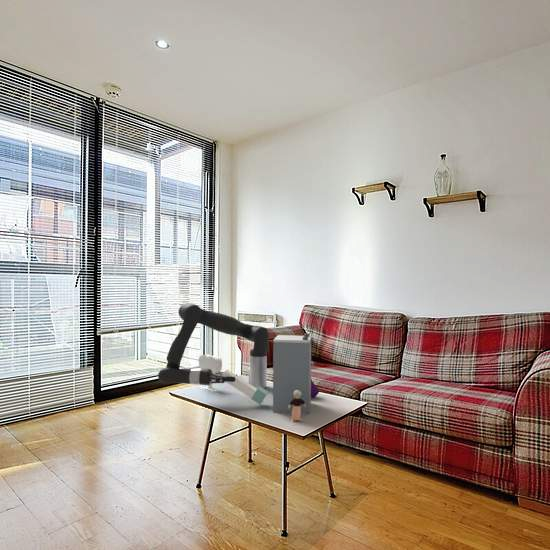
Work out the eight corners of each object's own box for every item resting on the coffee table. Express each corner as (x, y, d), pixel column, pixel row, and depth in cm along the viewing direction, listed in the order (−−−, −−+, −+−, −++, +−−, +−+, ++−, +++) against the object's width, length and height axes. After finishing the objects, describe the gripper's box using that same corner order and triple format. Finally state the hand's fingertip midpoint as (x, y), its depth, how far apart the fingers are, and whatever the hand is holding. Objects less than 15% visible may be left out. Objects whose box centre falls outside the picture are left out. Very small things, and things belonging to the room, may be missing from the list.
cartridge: (220, 378, 189) (226, 368, 189) (223, 376, 195) (229, 366, 194) (260, 404, 186) (266, 394, 186) (262, 401, 192) (268, 391, 192)
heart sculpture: (222, 390, 215) (223, 356, 215) (215, 392, 211) (215, 357, 212) (204, 385, 226) (204, 352, 226) (197, 387, 222) (197, 354, 222)
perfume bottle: (299, 397, 204) (299, 361, 204) (308, 394, 209) (308, 359, 209) (311, 400, 199) (311, 363, 199) (320, 397, 204) (320, 361, 204)
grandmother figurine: (291, 423, 166) (291, 392, 166) (287, 420, 170) (287, 389, 170) (307, 420, 169) (307, 390, 170) (303, 417, 173) (303, 388, 173)
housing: (272, 411, 180) (273, 337, 181) (277, 401, 196) (278, 332, 197) (309, 413, 178) (309, 337, 179) (310, 403, 194) (311, 333, 195)
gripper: (196, 372, 186) (232, 373, 184) (205, 365, 201) (239, 367, 198) (195, 388, 186) (232, 390, 184) (205, 380, 200) (239, 382, 198)
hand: (235, 378), depth 191 cm, fingers closed on cartridge, 4 cm apart
